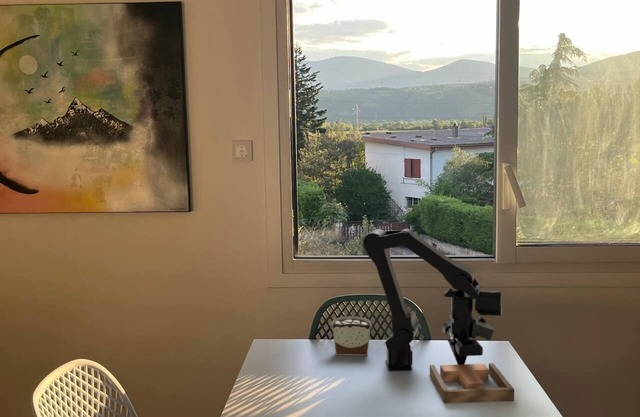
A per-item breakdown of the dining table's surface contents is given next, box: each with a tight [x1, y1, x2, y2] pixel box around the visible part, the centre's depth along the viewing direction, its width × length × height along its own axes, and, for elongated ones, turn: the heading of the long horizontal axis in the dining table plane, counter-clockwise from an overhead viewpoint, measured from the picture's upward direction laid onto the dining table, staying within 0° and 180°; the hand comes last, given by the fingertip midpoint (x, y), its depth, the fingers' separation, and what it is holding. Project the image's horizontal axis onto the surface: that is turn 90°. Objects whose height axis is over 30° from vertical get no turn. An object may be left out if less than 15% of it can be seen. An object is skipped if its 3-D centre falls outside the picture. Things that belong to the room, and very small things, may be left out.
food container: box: [330, 316, 373, 356], centre depth 184 cm, size 12×6×10 cm, turn 84°
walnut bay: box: [429, 362, 515, 404], centre depth 158 cm, size 17×16×3 cm
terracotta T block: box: [439, 363, 490, 389], centre depth 160 cm, size 12×12×3 cm
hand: (460, 367), depth 167 cm, fingers closed
